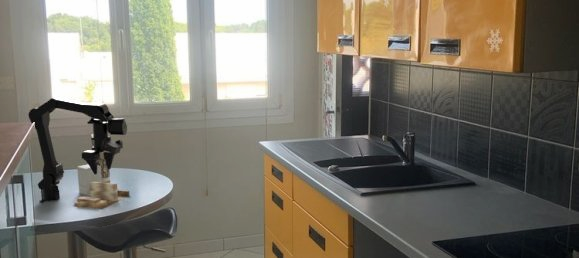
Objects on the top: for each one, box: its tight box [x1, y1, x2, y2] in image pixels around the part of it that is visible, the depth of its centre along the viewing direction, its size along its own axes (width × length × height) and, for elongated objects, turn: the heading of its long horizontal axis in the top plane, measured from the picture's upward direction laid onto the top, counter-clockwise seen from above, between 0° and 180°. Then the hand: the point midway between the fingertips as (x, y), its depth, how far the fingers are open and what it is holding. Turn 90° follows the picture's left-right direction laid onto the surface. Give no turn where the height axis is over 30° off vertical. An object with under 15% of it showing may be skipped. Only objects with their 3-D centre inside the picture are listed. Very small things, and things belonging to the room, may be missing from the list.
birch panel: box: [90, 181, 118, 202], centre depth 246 cm, size 12×2×7 cm, turn 73°
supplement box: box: [77, 163, 102, 197], centre depth 256 cm, size 7×7×13 cm
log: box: [90, 133, 111, 183], centre depth 262 cm, size 7×7×25 cm
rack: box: [72, 189, 130, 210], centre depth 245 cm, size 14×19×3 cm
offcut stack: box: [73, 195, 109, 209], centre depth 238 cm, size 13×4×3 cm, turn 73°
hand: (102, 171), depth 244 cm, fingers open, 9 cm apart
